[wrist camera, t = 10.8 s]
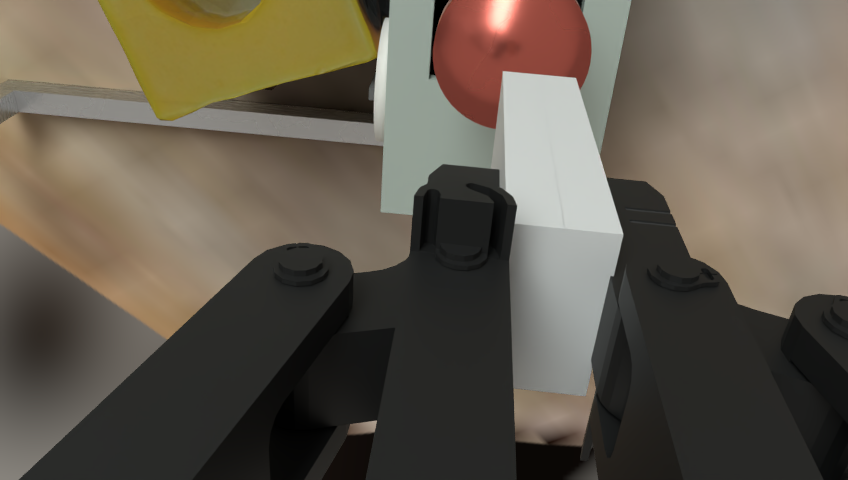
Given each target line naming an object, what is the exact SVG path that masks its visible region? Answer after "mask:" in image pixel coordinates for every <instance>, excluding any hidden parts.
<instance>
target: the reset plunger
mask: <svg viewBox="0 0 848 480" xmlns="http://www.w3.org/2000/svg"><path fill="white" fill-rule="evenodd" d="M591 54H592V47H591V37H590V31H589V28H588V24H587V22H586V19H585V17H584V15H583V13H582V11H581V9H580V7H579V4H578V2H577V1H576V0H449V1H448V3H447V4H446V6H445V8H444V10H443V12H442V14H441V17H440V19H439V23H438V26H437V30H436V34H435V38H434V45H433V65H434V71H435V75H436V79H437V81H438V84H439V86H440V88H441V90H442V92H443V94H444V95H445V97H446V98H447V100H448V101H449V102H450V104H451V105H452V106H453V107H454V108H455V109H456V110H457V111H458V112H460V113H461V114H462V115H463V116H465V117H466V118H468V119H470V120H471V121H473V122H475V123H477V124H480V125H482V126H485V127H488V128H492V129H496V123H497V115H498V107H499V99H500V91H501V83H502V75H503V71H507V72H518V73H528V74H539V75H550V76H561V77H571V78H576V80H577V83H578V86H579V89H581V88H582V86H583V84H584V82H585V79H586V77H587V74H588V71H589V67H590V62H591Z"/></svg>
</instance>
